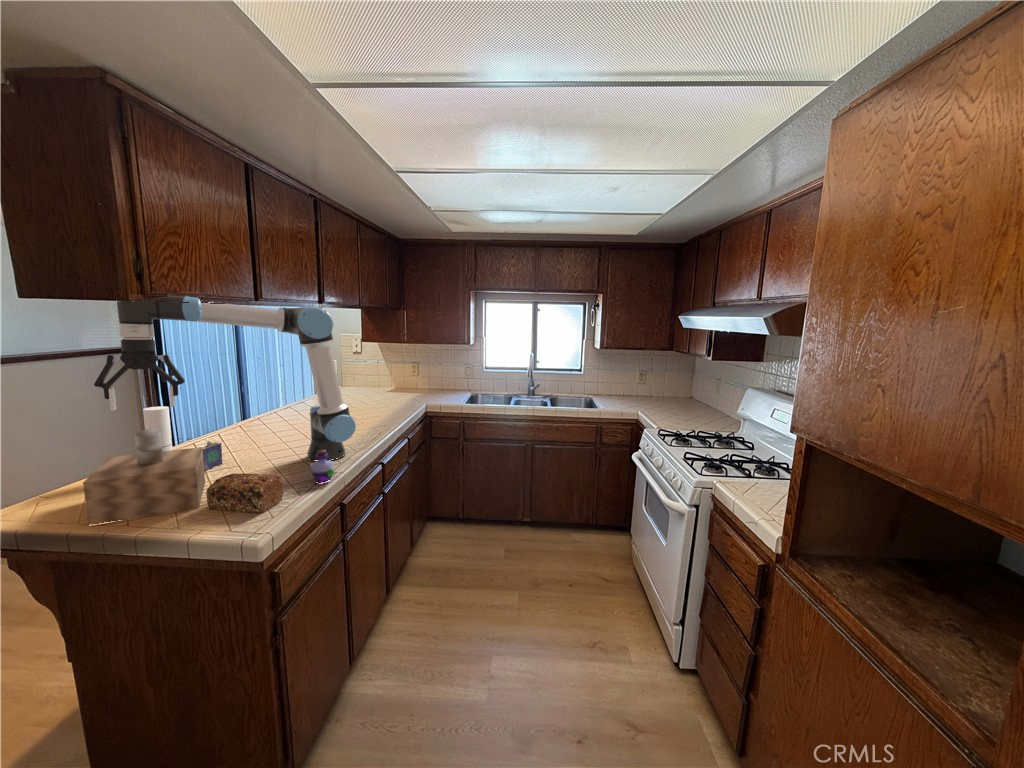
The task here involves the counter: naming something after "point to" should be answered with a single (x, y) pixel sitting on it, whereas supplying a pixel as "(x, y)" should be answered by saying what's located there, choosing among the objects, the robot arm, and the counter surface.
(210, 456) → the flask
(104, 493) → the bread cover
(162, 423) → the cylindrical container
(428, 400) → the counter surface
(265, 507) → the bread
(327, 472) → the potion bottle
